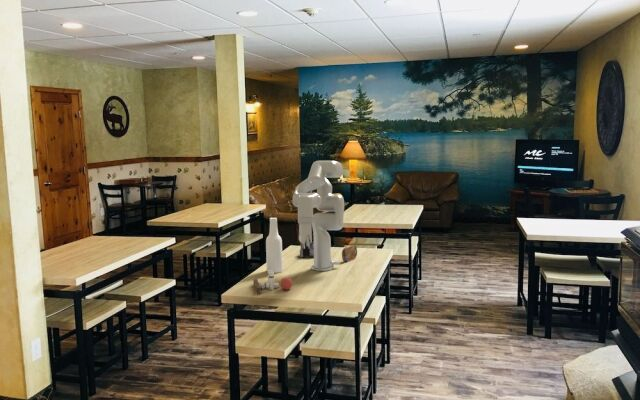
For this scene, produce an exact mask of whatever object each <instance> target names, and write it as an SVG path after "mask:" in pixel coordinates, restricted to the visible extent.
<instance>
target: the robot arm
mask: <svg viewBox="0 0 640 400" xmlns="http://www.w3.org/2000/svg"><path fill="white" fill-rule="evenodd" d="M309 170H310V171H309V174H308V176H307V178H306V179H305V180H303V181H301V182H300V183H299V184H297V185H296V187H295V188H294V192H293V194H292V204H293V206H294V207H295V208H297V223H298V225H299V226H298V227H299V229H298V230H299V231H298V241H299V242H300V243H301V245H303V256H304V257H303V258H307V257H306V256H310V248H309V244H310V243H311V242H312V240H313V241H314V257H313V265H312V266H311V265H310V266H311V270H313V271H317V272H326V271H327V272H328V271H331V270H334V269H335V268H334V266H335V265H340V261H339V260H338V261H337V260H332V256H331V253H332V251H331V249H332V248H331V246H332V244H331V238H332V237H331V236H330V234H329V232H328V231H341V230H342V229H343V226H344V225H343V224H344V217H345V216H344V213H345V200H344V196H343V195H341V194H337V193H336V194H334V193H333V185H332V184H331V182H330V181H329V179H327V178H331V179H333V178H334V179H335V178H336V179H339V178H341V177H342V176H343V173H344V167H343V164H342V163H341V162H340V161H336V160H316V161H313V163H312V165H311V167H310V169H309ZM312 191H316V192H312ZM315 208H316V209H317V210H318V211H321V212H316V213H314V209H315ZM312 232H313V233H312ZM312 236H313V237H312Z"/></svg>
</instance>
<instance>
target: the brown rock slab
mask: <svg viewBox="0 0 640 400" xmlns="http://www.w3.org/2000/svg"><path fill="white" fill-rule="evenodd" d="M357 256H358V248H357V246H356V245H355V244H351V245H348V246H346V247H344V248H343V249H342V251H341V259H342V261H344V262H348V263H349V262H351V261H353V260H355V259H356V258H357Z"/></svg>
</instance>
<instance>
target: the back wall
mask: <svg viewBox="0 0 640 400" xmlns="http://www.w3.org/2000/svg"><path fill="white" fill-rule="evenodd" d="M252 281H253V283H252V284H253V288H254V290H255V293H256V295H258V294H259V295H261V294H262V289H261V284H260V282H259V279H258V278H253V279H252Z"/></svg>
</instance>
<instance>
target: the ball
mask: <svg viewBox="0 0 640 400" xmlns="http://www.w3.org/2000/svg"><path fill="white" fill-rule="evenodd" d="M292 286H293V280H292V279H291V278H290V277H288V276H287V277H283V278H281V280H280V282H279V287H280V288H282V289H283V290H286V291H287V290H290V289H291V288H292Z"/></svg>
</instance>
